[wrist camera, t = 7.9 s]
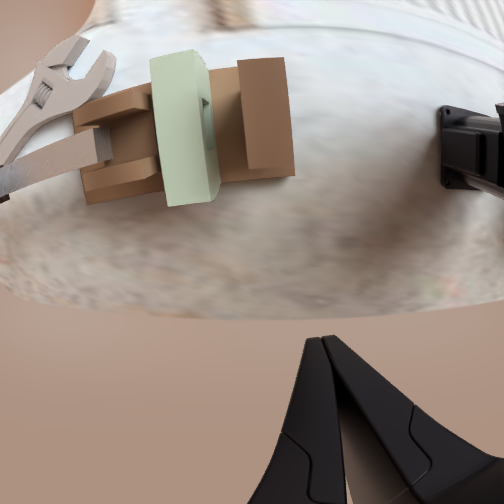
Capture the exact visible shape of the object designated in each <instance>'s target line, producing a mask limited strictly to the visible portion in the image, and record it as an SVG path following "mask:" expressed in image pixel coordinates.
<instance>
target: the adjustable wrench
mask: <svg viewBox="0 0 504 504" xmlns="http://www.w3.org/2000/svg"><path fill="white" fill-rule="evenodd" d="M89 41H90V40H88V39H86V38H84V37H81V36H79V35H75V36H72V37H69V38H67V39H65V40H64V41H62V42H61V43H59V44H58V45H56V46H55V47H54V48H53V49H52V50H51V51H50V52H49V53H48V54H47V55H46V56H45V57H44V58H43V60H42V61H37V63H36V69H35V73H34V74H35V75H34V78H33V81H32V84H31V87H30V90H29V93H28V95H27V98H26V100H25V102H24V104H23V106H22V107H21V109H20V111H19V112H18V114H17V115H16V116H15V118H14V119H13V120H12V122H11V123H10V124H9V126H8V127H7V128H6V130H5V131H4V133H3V134H2V135H1V137H0V165H3V166H6V165H8V164H9V163H11V162H12V161H13V160H14V159H15V157H16V156H17V154H18V153H19V152H20V150H21V149H22V148H23V146H24V145H25V144H26V143H27V141H28V140H29V139H30V138H31V136H32V135H33V134H34V133H35V132H36V131H37V130H38V129H39V128H40V127H41V126H43V125H44V124H46V123H48V122H50V121H52V120H54V119H56V118H58V117H61V116H64V115H67V114H71V113H72V110H75V109H77V108H79V107H80V106H81V105H83V104H85V103H88V102H90V101H93V100H96V99H98V98H101V96H102V95H103V94H104V92H105V91H106V90H107V88H108V86H109V84H110V83H111V80H112V77H113V75H114V72H115V67H116V57H115V56H114V55H113V54H112V53H109V52H107V51H105V50H103V52H102V53H101V54H100V56H99V57H98V59H97V60H96V62H95V63H94V64H93V66H92V67H91V69H90V70H89V72H88V73H87V75H86V77H85V78H84V79H80V80H73V79H72V78H71V77H69V75H68V70H67V67H68V66H73V65H74V63H75V62H76V60H77V59H78V57H79V56H80V54H81V53H82V51H83V50H84V48H85V47H86V46H87V44H88V43H89Z"/></svg>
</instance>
